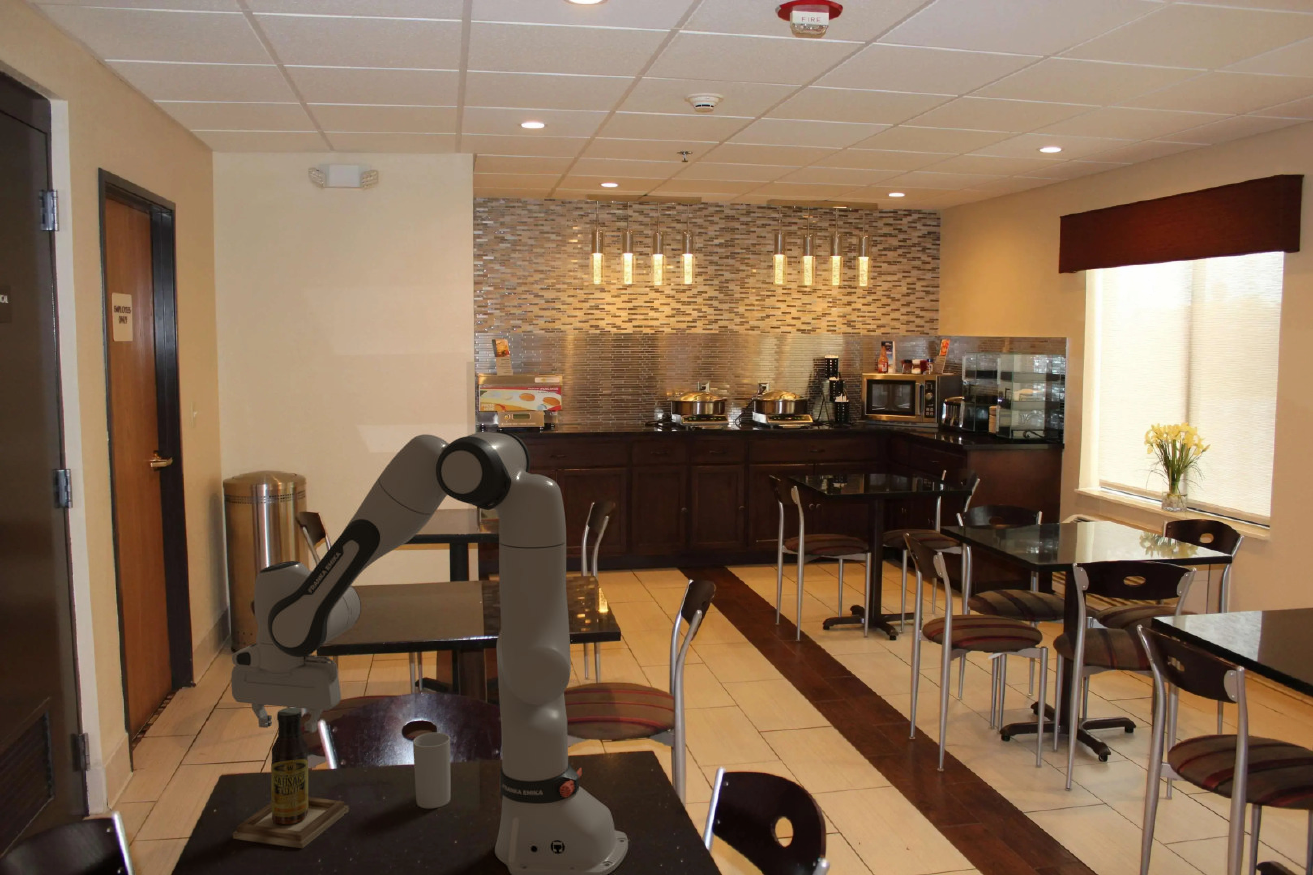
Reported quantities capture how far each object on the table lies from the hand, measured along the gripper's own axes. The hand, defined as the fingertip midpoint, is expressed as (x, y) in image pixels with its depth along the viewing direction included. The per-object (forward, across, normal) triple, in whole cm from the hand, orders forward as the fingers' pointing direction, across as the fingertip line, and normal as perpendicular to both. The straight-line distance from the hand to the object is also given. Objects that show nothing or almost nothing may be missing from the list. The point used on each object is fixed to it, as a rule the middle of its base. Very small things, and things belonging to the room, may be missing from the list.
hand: (288, 728), depth 176 cm
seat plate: (+18, 0, 0) cm, 18 cm away
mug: (+18, -20, -16) cm, 31 cm away
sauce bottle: (+17, 0, 0) cm, 17 cm away
